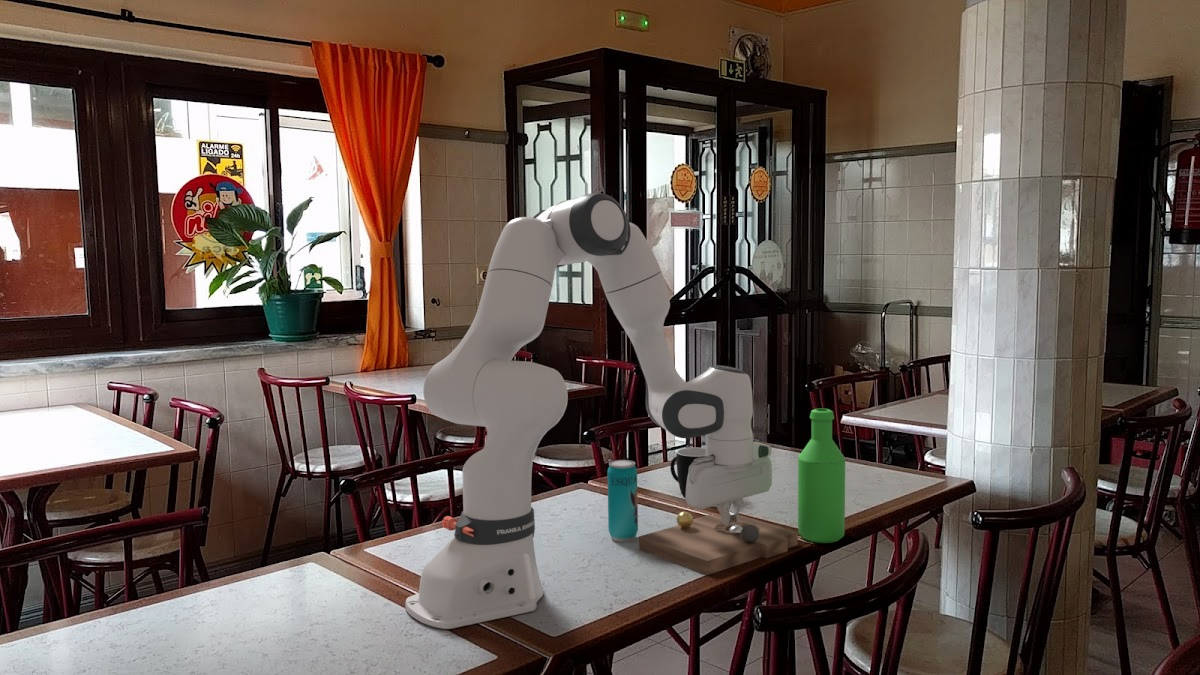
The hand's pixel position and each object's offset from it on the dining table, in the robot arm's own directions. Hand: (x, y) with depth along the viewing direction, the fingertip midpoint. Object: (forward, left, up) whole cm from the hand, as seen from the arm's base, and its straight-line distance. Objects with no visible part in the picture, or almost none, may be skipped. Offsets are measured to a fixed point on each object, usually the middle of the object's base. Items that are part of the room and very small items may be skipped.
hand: (729, 522), depth 174 cm
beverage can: (-13, +16, -4) cm, 21 cm away
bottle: (+16, -9, -4) cm, 19 cm away
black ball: (-2, -7, 0) cm, 7 cm away
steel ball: (+2, 0, -2) cm, 3 cm away
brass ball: (-5, +7, 0) cm, 9 cm away
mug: (+19, +30, -4) cm, 36 cm away
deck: (-3, 0, -4) cm, 5 cm away
